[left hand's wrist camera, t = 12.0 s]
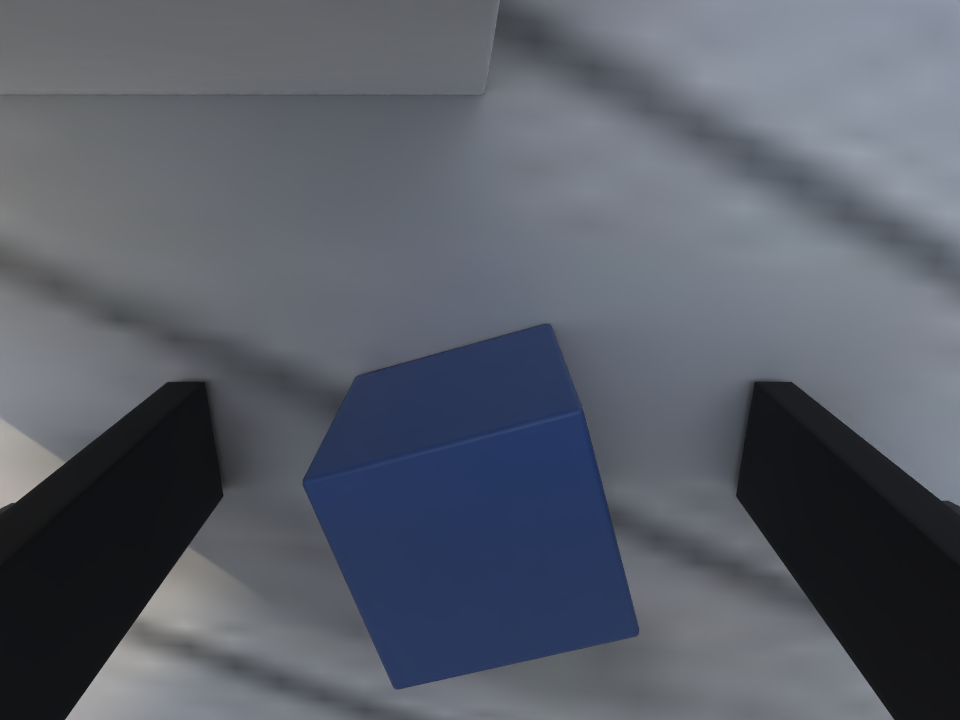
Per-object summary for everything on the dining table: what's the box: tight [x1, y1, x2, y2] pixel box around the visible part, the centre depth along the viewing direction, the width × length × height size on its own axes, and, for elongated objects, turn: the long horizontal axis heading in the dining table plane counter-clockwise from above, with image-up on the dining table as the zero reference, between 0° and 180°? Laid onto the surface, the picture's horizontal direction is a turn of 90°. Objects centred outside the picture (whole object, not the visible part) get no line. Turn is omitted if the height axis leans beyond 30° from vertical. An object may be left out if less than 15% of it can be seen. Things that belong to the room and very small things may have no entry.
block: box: [303, 324, 639, 689], centre depth 11 cm, size 4×4×4 cm
